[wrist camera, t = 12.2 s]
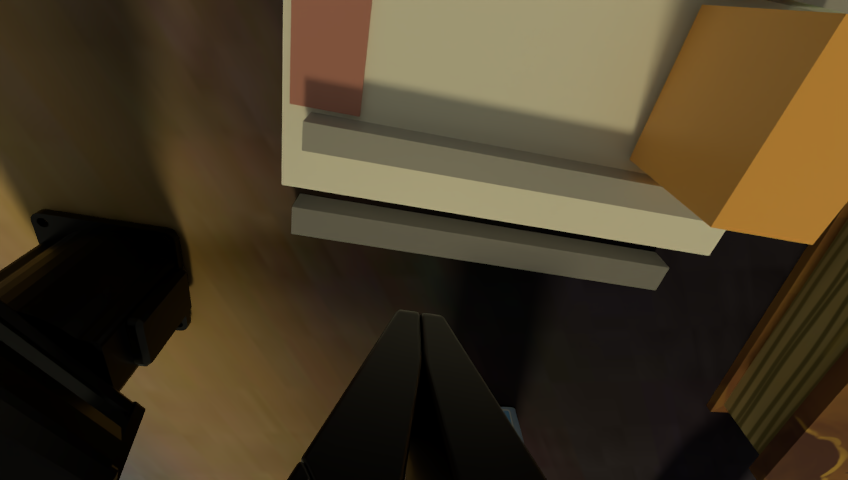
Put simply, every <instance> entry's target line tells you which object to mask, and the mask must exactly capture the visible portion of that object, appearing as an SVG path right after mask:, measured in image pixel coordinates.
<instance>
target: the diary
mask: <svg viewBox="0 0 848 480" xmlns="http://www.w3.org/2000/svg"><path fill="white" fill-rule="evenodd" d="M706 406H707V407H708V409H709V410H710V412H729V413H730V415H731V416H732V417H733V419H734V420H735V422H736V423H737V424H738V426H739V427H740V428H741V430H742V431H743V433H744V434H745V435H746V437H747V438H748V440H749V441H750V442H751V444H752V445H753V446H754V448H755V449H756V451H757V452H758V453H759V456H758V458H757V459H756V460H755V461H754V462H753V464H752V465H751V466H750V467H749V469H750V471H751V472H752V474H753V475H754V477H755V478H756V480H848V202H847V203H846V204H845V205H844V207H843V208H842V209H841V210H840V212H839V213H838V214H837V215H836V217H835V218H834V219H833V220H832V222H831V223H830V224H829V225H828V227H827V228H826V229H825V230H824V232H823V233H822V234H821V235H820V236H819V238H818V239H817V240H816V241H815V243H814V244H813V245H810V244H809V245H808V246H807V248H806V249H805V251H804V252H803V254H802V256H801V257H800V259H799V260H798V262H797V263H796V265H795V267H794V268H793V270H792V271H791V273H790V274H789V276H788V278H787V279H786V281H785V282H784V284H783V285H782V287H781V289H780V290H779V292H778V293H777V295H776V296H775V298H774V300H773V301H772V303H771V304H770V306H769V307H768V309H767V311H766V312H765V314H764V315H763V317H762V318H761V320H760V322H759V323H758V325H757V326H756V328H755V329H754V331H753V333H752V334H751V336H750V337H749V339H748V340H747V342H746V344H745V345H744V347H743V348H742V350H741V351H740V353H739V355H738V356H737V358H736V359H735V361H734V362H733V364H732V366H731V367H730V369H729V370H728V372H727V373H726V375H725V377H724V378H723V380H722V381H721V383H720V384H719V386H718V388H717V389H716V391H715V392H714V394H713V395H712V397H711V399H710V400H709V402H708V403H707V405H706Z"/></svg>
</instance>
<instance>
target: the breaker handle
mask: <svg viewBox="0 0 848 480" xmlns="http://www.w3.org/2000/svg"><path fill="white" fill-rule="evenodd" d="M629 160H631V161H632V162H633V163H634V164H635V165H637V166H638V167H639V168H640V169H641V170H643V171H644V172H645V173H646V174H647V175H649V176H650V177H651V178H652V179H653V180H655V181H656V182H657V183H658V184H659V185H661V186H662V187H663V188H664V189H665V190H667V191H668V192H669V193H670V194H671V195H673V196H674V197H675V198H676V199H677V200H679V201H680V202H681V203H682V204H683V205H685V206H686V207H687V208H688V209H689V210H691V211H692V212H693V213H694V214H695V215H697V216H698V217H699V218H700V219H701V220H703V221H704V222H705V223H706V224H707V225H709V226H710V227H712V228H718V229H723V230H729V231H735V232H741V233H746V234H752V235H758V236H764V237H769V238H775V239H781V240H787V241H792V242H798V243H804V244H810V245H813V244H814V243H815V241H816V240H817V239H818V238H819V236H820V235H821V234H822V233H823V232H824V230H825V229H826V228H827V227H828V225H829V224H830V223H831V222H832V220H833V219H834V218H835V217H836V215H837V214H838V213H839V212H840V210H841V209H842V208H843V207H844V205H845V204H846V203H847V202H848V14H845V13H829V12H812V11H796V10H780V9H764V8H748V7H732V6H716V5H702V6H701V8H700V10H699V12H698V14H697V16H696V18H695V20H694V23H693V25H692V27H691V29H690V31H689V33H688V35H687V37H686V40H685V42H684V44H683V46H682V48H681V50H680V52H679V54H678V57H677V59H676V61H675V63H674V65H673V67H672V69H671V72H670V74H669V76H668V78H667V80H666V82H665V84H664V86H663V89H662V91H661V93H660V95H659V97H658V99H657V101H656V103H655V106H654V108H653V110H652V112H651V114H650V116H649V118H648V121H647V123H646V125H645V127H644V129H643V131H642V133H641V135H640V138H639V140H638V142H637V144H636V146H635V148H634V150H633V152H632V155H631V157H630V159H629Z"/></svg>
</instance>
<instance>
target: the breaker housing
mask: <svg viewBox="0 0 848 480" xmlns="http://www.w3.org/2000/svg"><path fill="white" fill-rule="evenodd" d="M702 5H716V6H732V7H748V8H764V9H780V10H796V11H812V12H829V13H845V14H848V0H283V78H282V185H286V186H293V187H299V188H305V189H311V190H317V191H323V192H329V193H335V194H341V195H347V196H353V197H359V198H365V199H371V200H377V201H383V202H389V203H395V204H401V205H407V206H413V207H419V208H425V209H431V210H437V211H443V212H449V213H455V214H461V215H467V216H473V217H479V218H485V219H491V220H497V221H503V222H509V223H515V224H521V225H527V226H533V227H539V228H545V229H551V230H557V231H563V232H569V233H575V234H581V235H587V236H593V237H599V238H605V239H611V240H617V241H623V242H629V243H635V244H641V245H647V246H653V247H659V248H665V249H671V250H677V251H683V252H689V253H695V254H701V255H707V256H709V255H710V253H711V252H712V250H713V249H714V247H715V246H716V244H717V243H718V241H719V240H720V238H721V237H722V235H723V234H724V232H725V231H726V230H723V229H718V228H712V227H710V226H709V225H707V224H706V223H705V222H704V221H703V220H701V219H700V218H699V217H698V216H697V215H695V214H694V213H693V212H692V211H691V210H689V209H688V208H687V207H686V206H685V205H683V204H682V203H681V202H680V201H679V200H677V199H676V198H675V197H674V196H673V195H671V194H670V193H669V192H668V191H667V190H665V189H664V188H663V187H662V186H661V185H659V184H658V183H657V182H656V181H655V180H653V179H652V178H651V177H650V176H649V175H647V174H646V173H645V172H644V171H643V170H641V169H640V168H639V167H638V166H637V165H635V164H634V163H633V162H632V161H631V160H629V159H630V157H631V155H632V152H633V150H634V148H635V146H636V144H637V142H638V140H639V138H640V135H641V133H642V131H643V129H644V127H645V125H646V123H647V121H648V118H649V116H650V114H651V112H652V110H653V108H654V106H655V103H656V101H657V99H658V97H659V95H660V93H661V91H662V89H663V86H664V84H665V82H666V80H667V78H668V76H669V74H670V72H671V69H672V67H673V65H674V63H675V61H676V59H677V57H678V54H679V52H680V50H681V48H682V46H683V44H684V42H685V40H686V37H687V35H688V33H689V31H690V29H691V27H692V25H693V23H694V20H695V18H696V16H697V14H698V12H699V10H700V8H701V6H702Z"/></svg>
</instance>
